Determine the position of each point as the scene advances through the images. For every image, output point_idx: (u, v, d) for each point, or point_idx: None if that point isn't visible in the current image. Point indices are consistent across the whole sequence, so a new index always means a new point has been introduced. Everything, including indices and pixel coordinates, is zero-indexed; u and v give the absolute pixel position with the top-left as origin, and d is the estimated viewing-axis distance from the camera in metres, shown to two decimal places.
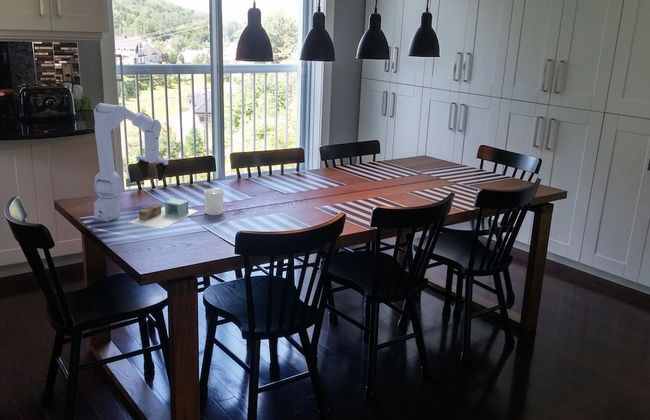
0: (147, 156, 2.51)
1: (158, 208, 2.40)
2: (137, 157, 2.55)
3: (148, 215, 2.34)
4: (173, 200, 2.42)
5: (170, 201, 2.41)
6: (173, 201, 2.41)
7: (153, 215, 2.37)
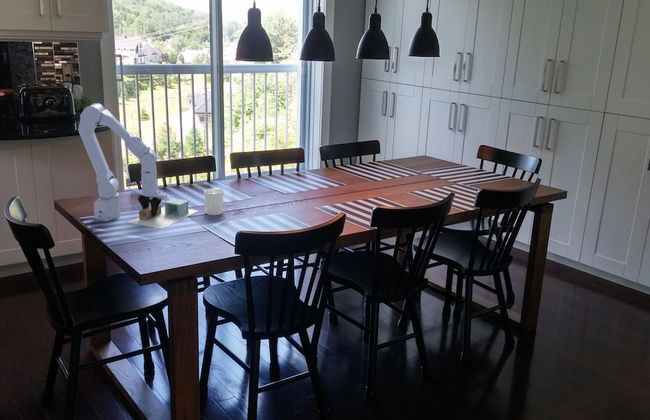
0: (144, 191, 2.32)
1: (158, 208, 2.40)
2: (133, 191, 2.36)
3: (148, 215, 2.34)
4: (173, 200, 2.42)
5: (170, 201, 2.41)
6: (173, 201, 2.41)
7: None
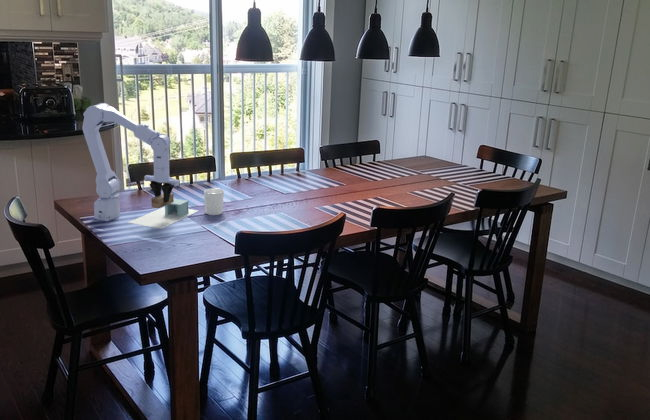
0: (156, 176, 2.27)
1: (171, 196, 2.35)
2: (145, 177, 2.31)
3: (161, 203, 2.29)
4: None
5: None
6: None
7: (165, 203, 2.32)
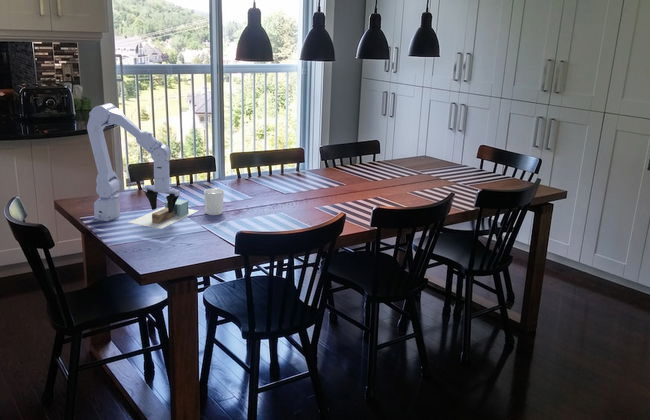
0: (157, 186, 2.28)
1: None
2: (145, 187, 2.32)
3: (161, 219, 2.31)
4: None
5: None
6: None
7: (166, 218, 2.34)
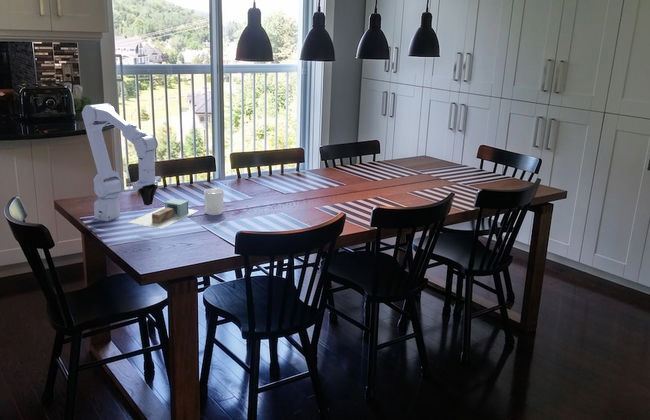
0: None
1: (171, 211, 2.37)
2: None
3: (161, 219, 2.31)
4: (173, 200, 2.42)
5: (170, 201, 2.41)
6: (173, 201, 2.41)
7: (166, 218, 2.34)
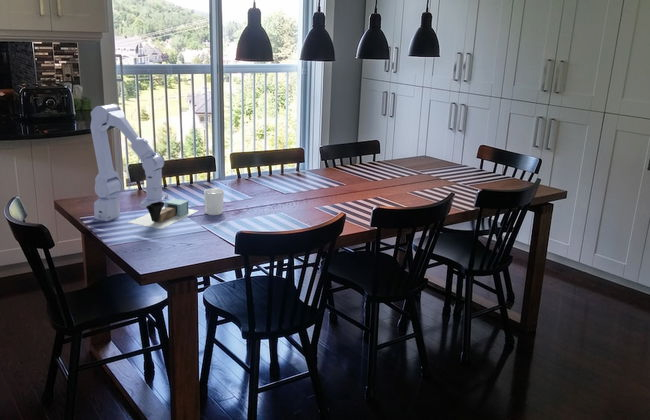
0: None
1: (173, 210, 2.38)
2: None
3: (163, 218, 2.32)
4: (173, 200, 2.42)
5: (170, 201, 2.41)
6: (173, 201, 2.41)
7: (168, 217, 2.35)
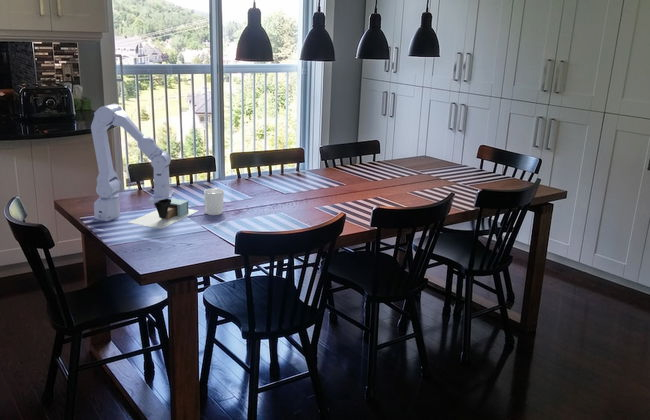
0: None
1: None
2: None
3: (170, 214, 2.36)
4: (173, 200, 2.42)
5: None
6: (173, 201, 2.41)
7: (175, 214, 2.39)
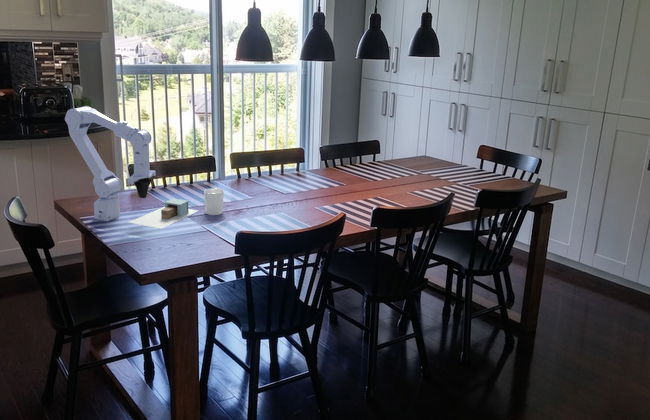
0: None
1: None
2: None
3: (170, 214, 2.36)
4: (173, 200, 2.42)
5: (170, 201, 2.41)
6: (173, 201, 2.41)
7: (175, 214, 2.39)
